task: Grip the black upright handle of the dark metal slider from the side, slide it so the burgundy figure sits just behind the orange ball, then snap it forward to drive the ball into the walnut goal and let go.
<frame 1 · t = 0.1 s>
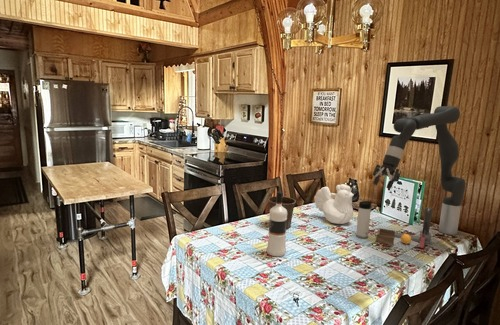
hand: (381, 186, 160), 31 cm above the table, tool tilted 20°, fingers open, 8 cm apart
travel mug: (362, 236, 177), on the table
ball: (406, 238, 169), point 2 cm above the table
vodka: (276, 253, 152), on the table
kicker: (427, 227, 167), point 9 cm above the table, slide at 0.0 cm
rail: (408, 238, 177), on the table
goal: (385, 239, 173), on the table
decorative rooster: (332, 220, 201), on the table
plant pot: (280, 226, 188), on the table
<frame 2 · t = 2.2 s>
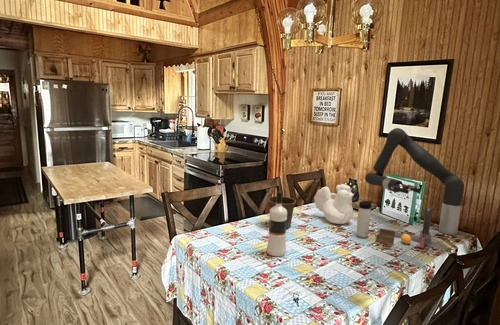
hand: (413, 191, 179), 25 cm above the table, tool horizontal, fingers open, 8 cm apart
nothing on the table moved.
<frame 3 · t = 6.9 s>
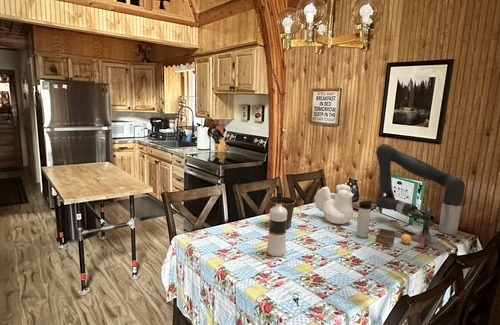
hand: (432, 219, 168), 14 cm above the table, tool horizontal, fingers closed on kicker, 3 cm apart
kicker: (427, 227, 167), point 9 cm above the table, slide at 0.0 cm, touching gripper
everything else where it was.
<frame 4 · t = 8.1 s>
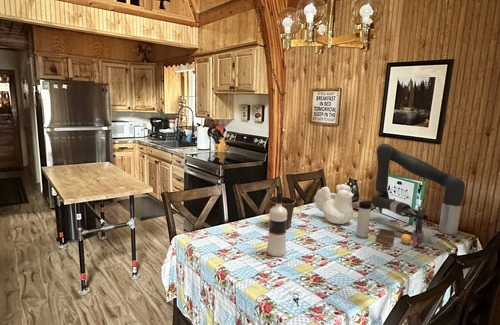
hand: (424, 217, 170), 14 cm above the table, tool horizontal, fingers closed on kicker, 3 cm apart
kicker: (419, 226, 169), point 9 cm above the table, slide at 3.4 cm, touching gripper
everything else where it was.
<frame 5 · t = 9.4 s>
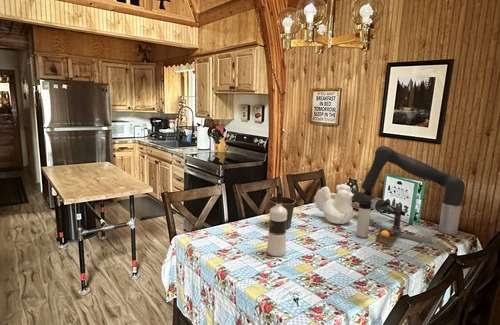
hand: (402, 214, 175), 14 cm above the table, tool horizontal, fingers closed on kicker, 3 cm apart
ball: (385, 235, 173), point 2 cm above the table, tilted 132°
kicker: (396, 222, 174), point 9 cm above the table, slide at 14.5 cm, touching gripper
everything else where it was.
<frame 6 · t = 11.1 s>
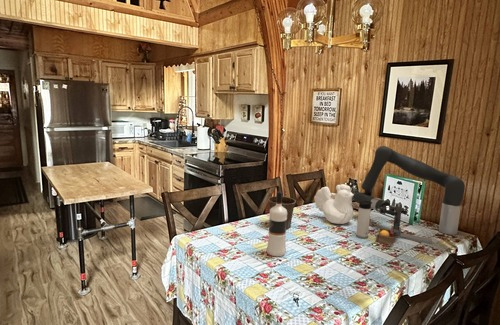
hand: (400, 213, 175), 14 cm above the table, tool horizontal, fingers open, 8 cm apart
ball: (384, 234, 173), point 2 cm above the table, tilted 124°
kicker: (396, 222, 174), point 9 cm above the table, slide at 14.5 cm
everything else where it was.
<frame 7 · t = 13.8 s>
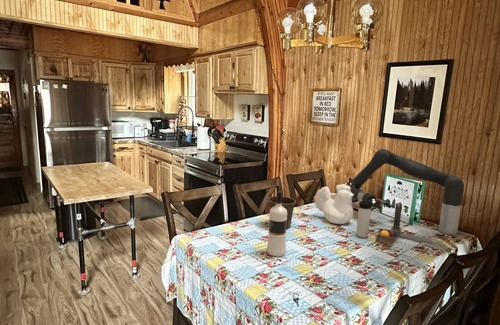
hand: (385, 207, 187), 14 cm above the table, tool horizontal, fingers open, 8 cm apart
nothing on the table moved.
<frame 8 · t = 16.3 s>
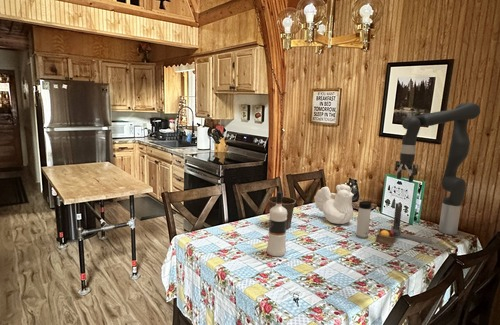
hand: (404, 180, 184), 30 cm above the table, tool pointing down, fingers open, 8 cm apart
nothing on the table moved.
at the end: ball inside the target area on the goal (0.5 cm from its centre), point 2.5 cm above the goal's base; kicker slide at 14.5 cm; the gripper is holding nothing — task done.
